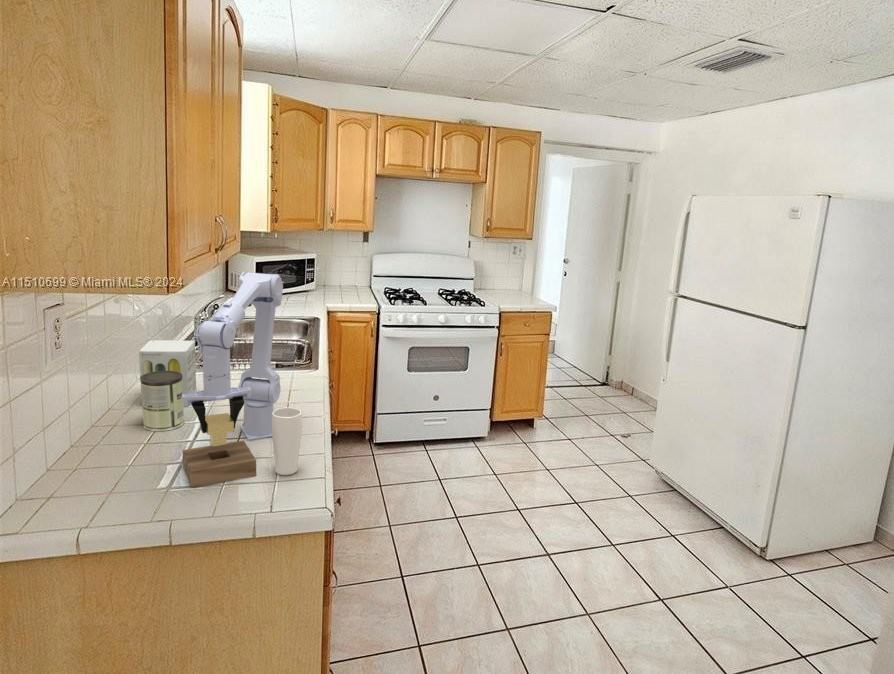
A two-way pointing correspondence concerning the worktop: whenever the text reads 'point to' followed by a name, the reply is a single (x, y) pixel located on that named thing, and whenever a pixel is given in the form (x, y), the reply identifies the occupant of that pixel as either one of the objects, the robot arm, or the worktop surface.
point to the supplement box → (170, 360)
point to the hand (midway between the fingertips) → (218, 429)
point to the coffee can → (162, 400)
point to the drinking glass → (286, 439)
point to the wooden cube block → (219, 428)
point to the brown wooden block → (218, 463)
